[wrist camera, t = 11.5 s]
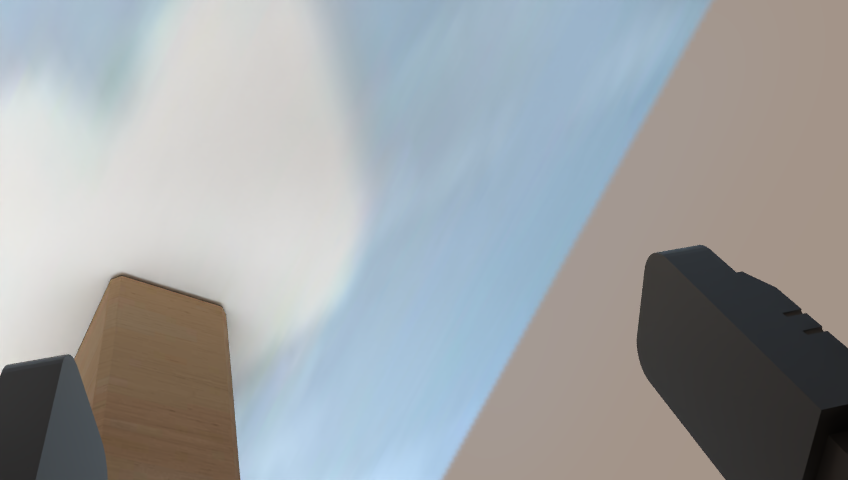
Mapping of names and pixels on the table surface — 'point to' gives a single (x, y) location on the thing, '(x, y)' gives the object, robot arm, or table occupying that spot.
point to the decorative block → (160, 384)
